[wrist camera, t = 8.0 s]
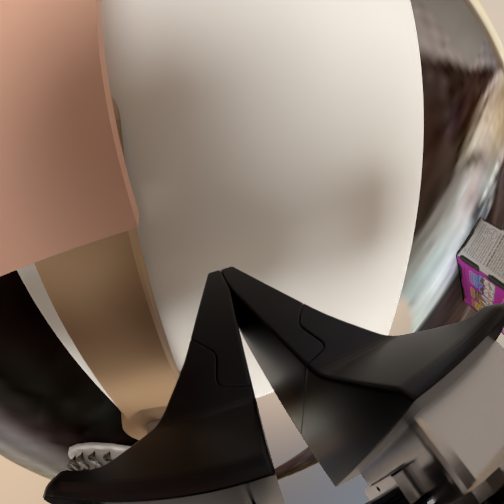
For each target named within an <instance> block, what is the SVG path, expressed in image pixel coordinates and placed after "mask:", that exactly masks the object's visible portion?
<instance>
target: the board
mask: <svg viewBox="0 0 504 504" xmlns="http://www.w3.org/2000/svg"><path fill="white" fill-rule="evenodd" d="M101 7H102V25H103V37H104V47H105V56H106V65H107V72H108V79H109V86H110V92H111V96H112V97H113V99H114V101H115V102H116V104H117V107H118V110H119V113H120V120H121V130H122V140H123V148H124V156H125V163H126V168H127V172H128V176H129V180H130V184H131V187H132V191H133V195H134V198H135V202H136V205H137V208H138V212H139V221H138V228H137V231H138V236H139V240H140V245H141V249H142V253H143V257H144V261H145V265H146V269H147V273H148V277H149V281H150V284H151V288H152V292H153V295H154V299H155V302H156V306H157V309H158V312H159V315H160V319H161V322H162V325H163V328H164V331H165V334H166V337H167V340H168V343H169V346H170V349H171V352H172V355H173V357H174V360H175V363H176V366H177V368H178V371H179V374H180V372H181V370H182V367H183V364H184V361H185V358H186V355H187V351H188V347H189V343H190V341H191V336H192V332H193V328H194V324H195V320H196V316H197V313H198V309H199V305H200V301H201V298H202V294H203V290H204V287H205V283H206V279H207V276H208V274H209V273H210V272H214V271H217V270H220V271H221V270H222V269H224V268H228V267H235V268H237V269H238V270H240V271H242V272H244V273H246V274H248V275H250V276H252V277H254V278H256V279H257V280H259V281H261V282H263V283H265V284H267V285H269V286H271V287H273V288H275V289H277V290H279V291H281V292H282V293H284V294H286V295H288V296H290V297H292V298H294V299H296V300H298V301H300V302H302V303H303V304H306V305H308V306H310V307H312V308H314V309H316V310H318V311H320V312H323V313H325V314H327V315H329V316H332V317H334V318H337V319H339V320H342V321H345V322H347V323H350V324H353V325H356V326H359V327H361V328H364V329H367V330H370V331H373V332H375V333H379V334H382V335H388V334H389V331H390V328H391V325H392V322H393V319H394V315H395V312H396V309H397V305H398V302H399V298H400V294H401V290H402V287H403V283H404V278H405V274H406V270H407V266H408V261H409V256H410V251H411V246H412V241H413V235H414V229H415V223H416V217H417V210H418V202H419V194H420V184H421V173H422V159H423V134H424V110H423V86H422V72H421V62H420V53H419V46H418V39H417V32H416V27H415V21H414V16H413V11H412V7H411V2H410V0H101ZM17 272H18V274H19V275H20V277H21V279H22V281H23V283H24V285H25V286H26V288H27V290H28V292H29V293H30V295H31V297H32V298H33V300H34V302H35V303H36V305H37V307H38V308H39V310H40V311H41V313H42V315H43V316H44V318H45V319H46V321H47V322H48V324H49V325H50V327H51V328H52V329H53V331H54V332H55V334H56V335H57V337H58V338H59V339H60V341H61V342H62V343H63V345H64V346H65V347H66V349H67V350H68V351H69V353H70V354H71V355H72V356H73V358H74V359H75V360H76V361H77V363H78V364H79V365H80V366H81V368H82V369H83V370H84V371H85V372H86V373H87V375H88V376H89V377H90V378H91V379H92V380H93V381H94V383H95V384H96V385H97V386H98V387H99V388H100V389H101V390H102V391H103V392H104V393H105V395H106V396H107V397H108V398H109V399H110V400H111V401H112V402H113V400H112V399H111V398H110V396H109V395H108V394H107V392H106V391H105V390H104V388H103V387H102V386H101V384H100V383H99V381H98V380H97V379H96V377H95V376H94V374H93V373H92V371H91V370H90V368H89V367H88V365H87V364H86V362H85V361H84V359H83V358H82V356H81V354H80V353H79V351H78V350H77V348H76V346H75V345H74V343H73V341H72V339H71V338H70V336H69V334H68V333H67V331H66V329H65V327H64V325H63V323H62V322H61V320H60V318H59V316H58V314H57V312H56V310H55V308H54V306H53V304H52V302H51V300H50V298H49V296H48V294H47V291H46V289H45V287H44V285H43V283H42V280H41V278H40V276H39V273H38V271H37V268H36V266H35V263H33V264H30V265H27V266H25V267H22V268H20V269H17ZM239 331H240V330H239ZM240 335H241V339H242V344H243V348H244V352H245V356H246V361H247V365H248V369H249V373H250V377H251V381H252V386H253V390H254V394H255V398H259V397H261V396H264V395H267V394H270V393H272V392H274V390H273V388H272V387H271V385H270V383H269V381H268V380H267V378H266V376H265V375H264V373H263V371H262V369H261V368H260V366H259V364H258V363H257V361H256V359H255V357H254V356H253V354H252V352H251V350H250V348H249V347H248V345H247V343H246V341H245V339H244V338H243V336H242V334H241V332H240ZM113 403H114V402H113ZM114 404H115V403H114ZM115 405H116V404H115Z"/></svg>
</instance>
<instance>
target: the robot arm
mask: <svg viewBox="0 0 504 504" xmlns="http://www.w3.org/2000/svg"><path fill="white" fill-rule="evenodd" d="M503 328H504V304H492V305H487V306H484V307H483V308H482V309H480V310H479V311H478V312H477V313H476V314H475V315H473V316H472V317H470V318H468V319H466V320H463V321H461V322H458V323H454V324H451V325H446V326H442V327H438V328H434V329H429V330H425V331H420V332H415V333H410V334H406V335H400V336H388V335H382V334H379V333H375V332H373V331H370V330H367V329H364V328H361V327H359V326H356V325H353V324H350V323H347V322H345V321H342V320H339V319H337V318H334V317H332V316H329V315H327V314H325V313H323V312H320V311H318V310H316V309H314V308H312V307H310V306H308V305H306V304H303V303H302V302H300V301H298V300H296V299H294V298H292V297H290V296H288V295H286V294H284V293H282V292H281V291H279V290H277V289H275V288H273V287H271V286H269V285H267V284H265V283H263V282H261V281H259V280H257V279H256V278H254V277H252V276H250V275H248V274H246V273H244V272H242V271H240V270H238V269H237V268H235V267H228V268H224V269H222V270H221V271H220V270H217V271H214V272H210V273H209V274H208V276H207V279H206V283H205V287H204V290H203V294H202V298H201V301H200V305H199V309H198V313H197V316H196V320H195V324H194V328H193V332H192V336H191V341H190V343H189V347H188V351H187V355H186V358H185V361H184V364H183V367H182V370H181V372H180V375H179V378H178V380H177V383H176V385H175V387H174V390H173V392H172V395H171V397H170V400H169V402H168V405H167V407H166V409H165V412H164V414H163V416H162V418H161V420H160V421H159V423H158V424H157V425H156V427H155V428H154V429H153V430H152V431H150V432H149V433H148V434H147V435H145V436H144V437H143V438H141V439H140V440H139V441H138V442H136V443H135V444H134V445H132V446H131V447H130V448H128V449H127V450H126V451H124V452H123V453H122V454H120V455H119V456H118V457H116V458H115V459H114V460H112V461H111V462H109V463H107V464H106V465H103V466H101V467H99V468H95V469H92V470H84V471H82V470H66V471H62V472H60V473H59V474H58V475H57V476H56V477H54V478H53V479H52V480H51V481H50V483H49V484H48V485H47V487H46V489H45V492H44V495H43V498H44V500H46V501H47V502H49V503H51V504H284V500H283V497H282V494H281V491H280V487H279V484H278V480H277V477H276V473H275V470H274V466H273V463H272V459H271V455H270V452H269V448H268V444H267V440H266V437H265V433H264V429H263V425H262V421H261V418H260V414H259V410H258V406H257V402H256V398H255V394H254V390H253V386H252V381H251V377H250V373H249V369H248V365H247V361H246V356H245V352H244V348H243V344H242V339H241V335H240V332H241V334H242V336H243V338H244V339H245V341H246V343H247V345H248V347H249V348H250V350H251V352H252V354H253V356H254V357H255V359H256V361H257V363H258V364H259V366H260V368H261V369H262V371H263V373H264V375H265V376H266V378H267V380H268V381H269V383H270V385H271V387H272V388H273V390H274V392H275V393H276V395H277V396H278V398H279V400H280V401H281V403H282V405H283V407H284V408H285V410H286V411H287V413H288V415H289V416H290V418H291V420H292V421H293V423H294V424H295V426H296V428H297V429H298V431H299V432H300V434H301V435H302V437H303V439H304V440H305V442H306V443H307V445H308V446H309V448H310V450H311V451H312V453H313V454H314V456H315V457H316V459H317V460H318V462H319V463H320V465H321V466H322V468H323V469H324V471H325V472H326V474H327V475H328V476H329V478H330V479H331V481H332V482H333V484H334V485H335V486H339V485H341V484H343V483H345V482H346V481H348V480H350V479H352V478H354V477H356V476H358V475H359V474H361V475H362V476H363V478H364V479H365V481H366V483H367V484H368V486H369V488H367V489H366V490H365V493H366V495H367V496H368V498H369V500H370V501H369V502H367V503H365V504H427V502H428V501H429V500H431V499H433V500H434V501H435V503H434V504H504V348H503V347H502V346H501V345H500V344H499V343H498V342H497V341H496V339H497V338H498V336H499V335H500V333H501V331H502V330H503ZM239 330H240V331H239Z"/></svg>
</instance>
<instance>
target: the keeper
mask: <svg viewBox="0 0 504 504" xmlns="http://www.w3.org/2000/svg"><path fill="white" fill-rule="evenodd" d="M138 221H139V212H138V208H137V205H136V202H135V198H134V195H133V191H132V187H131V184H130V180H129V176H128V172H127V168H126V164H125V160H124V156H123V152H122V148H121V143H120V139H119V134H118V129H117V125H116V120H115V114H114V109H113V104H112V98H111V92H110V86H109V79H108V72H107V65H106V56H105V47H104V37H103V25H102V7H101V0H0V276H3V275H5V274H7V273H10V272H12V271H15V270H17V269H20V268H22V267H25V266H27V265H30V264H33V263H35V262H38V261H40V260H43V259H46V258H49V257H51V256H54V255H57V254H59V253H62V252H65V251H68V250H71V249H74V248H76V247H79V246H82V245H85V244H88V243H91V242H94V241H97V240H100V239H103V238H106V237H109V236H112V235H115V234H119V233H122V232H125V231H128V230H131V229H135V228H138Z"/></svg>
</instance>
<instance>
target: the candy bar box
mask: <svg viewBox="0 0 504 504" xmlns="http://www.w3.org/2000/svg"><path fill="white" fill-rule="evenodd" d="M457 260H458V266H459V271H460V276H461V282H462V288H463V294H464V302H465V303H467V304H468V305H470V306H471V307H472V308H473V309H474V310H476V311H477V312H478V311H479V310H480V309H482V308H483V307H484V306H487V305H492V304H504V230H502V229H500V228H499V227H497V226H495V225H493V224H492V223H490V222H488V221H486V220H484V219H483V218H480V220H479V221H478V222H477V224H476V225H475V227H474V228H473V230H472V232H471V234H470V235H469V237H468V239H467V240H466V242H465V244H464V245H463V247H462V248H461V250H460V251H459V253H458V255H457ZM501 333H502V334H503V335H504V328H503V330H502V331H501Z"/></svg>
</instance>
